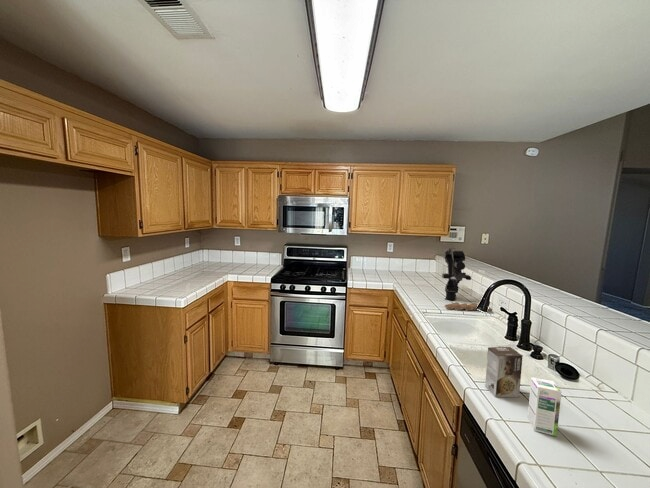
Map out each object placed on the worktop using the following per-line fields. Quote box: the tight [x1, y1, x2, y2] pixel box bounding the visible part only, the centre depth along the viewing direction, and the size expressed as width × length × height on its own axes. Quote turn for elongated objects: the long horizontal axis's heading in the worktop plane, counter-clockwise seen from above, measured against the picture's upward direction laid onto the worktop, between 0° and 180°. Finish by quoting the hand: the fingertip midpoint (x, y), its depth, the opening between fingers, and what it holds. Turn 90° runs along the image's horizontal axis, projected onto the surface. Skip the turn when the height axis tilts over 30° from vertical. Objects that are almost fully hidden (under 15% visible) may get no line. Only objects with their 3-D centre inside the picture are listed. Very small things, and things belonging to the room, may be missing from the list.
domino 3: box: [463, 302, 479, 312], centre depth 186 cm, size 2×5×9 cm
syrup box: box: [527, 377, 562, 437], centre depth 81 cm, size 6×6×14 cm
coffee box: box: [484, 346, 523, 398], centre depth 98 cm, size 9×6×16 cm
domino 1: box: [444, 301, 460, 310], centre depth 188 cm, size 2×5×9 cm
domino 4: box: [476, 309, 494, 315], centre depth 184 cm, size 2×5×9 cm
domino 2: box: [453, 302, 469, 311], centre depth 187 cm, size 2×5×9 cm
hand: (455, 287), depth 197 cm, fingers closed
